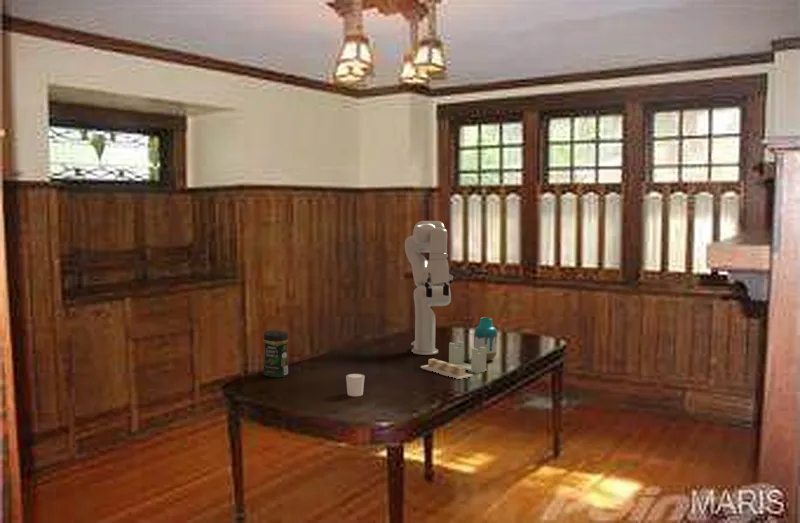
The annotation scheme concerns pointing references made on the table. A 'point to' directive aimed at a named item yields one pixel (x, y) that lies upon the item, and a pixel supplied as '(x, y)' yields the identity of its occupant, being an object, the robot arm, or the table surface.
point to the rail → (446, 367)
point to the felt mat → (446, 372)
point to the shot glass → (355, 384)
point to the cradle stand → (476, 361)
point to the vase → (486, 337)
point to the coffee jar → (275, 353)
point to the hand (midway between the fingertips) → (437, 296)
